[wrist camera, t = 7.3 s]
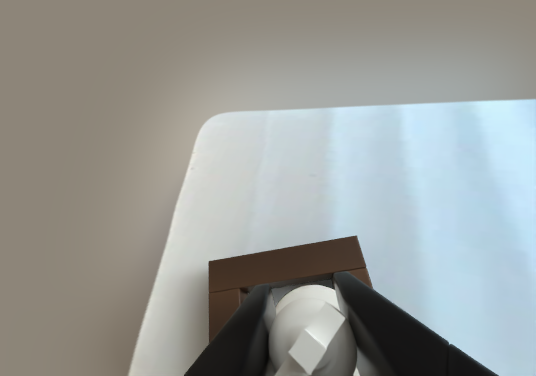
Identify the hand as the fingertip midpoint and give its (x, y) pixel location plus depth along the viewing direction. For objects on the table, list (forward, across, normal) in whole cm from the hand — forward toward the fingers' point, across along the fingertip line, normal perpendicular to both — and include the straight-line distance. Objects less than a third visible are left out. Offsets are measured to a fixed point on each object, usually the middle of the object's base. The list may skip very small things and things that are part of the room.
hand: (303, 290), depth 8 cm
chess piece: (+4, 0, +6) cm, 7 cm away
